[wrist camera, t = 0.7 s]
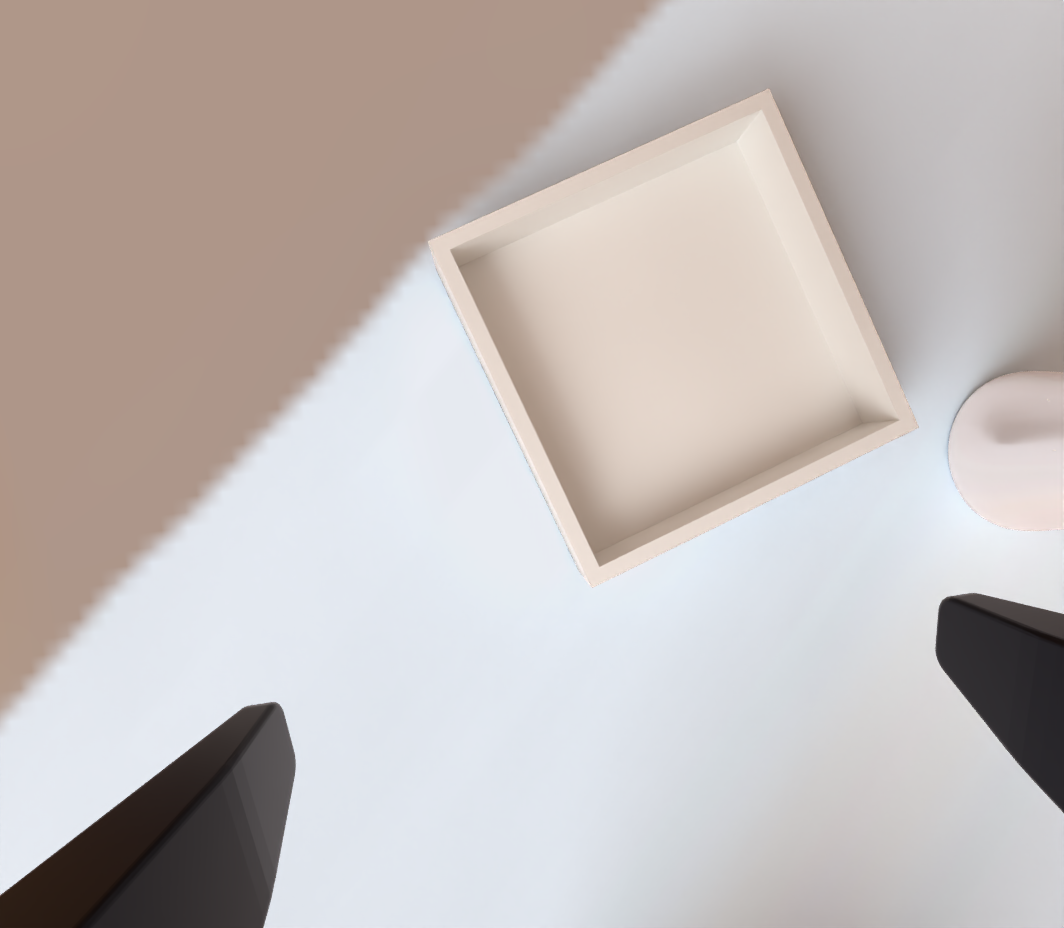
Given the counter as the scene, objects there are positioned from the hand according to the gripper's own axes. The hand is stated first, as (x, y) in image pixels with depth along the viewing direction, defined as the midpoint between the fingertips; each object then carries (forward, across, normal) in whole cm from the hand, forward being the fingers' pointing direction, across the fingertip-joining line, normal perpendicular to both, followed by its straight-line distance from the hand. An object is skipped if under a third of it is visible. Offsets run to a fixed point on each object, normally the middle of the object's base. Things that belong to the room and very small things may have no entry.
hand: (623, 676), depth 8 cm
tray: (+15, -5, -2) cm, 16 cm away
